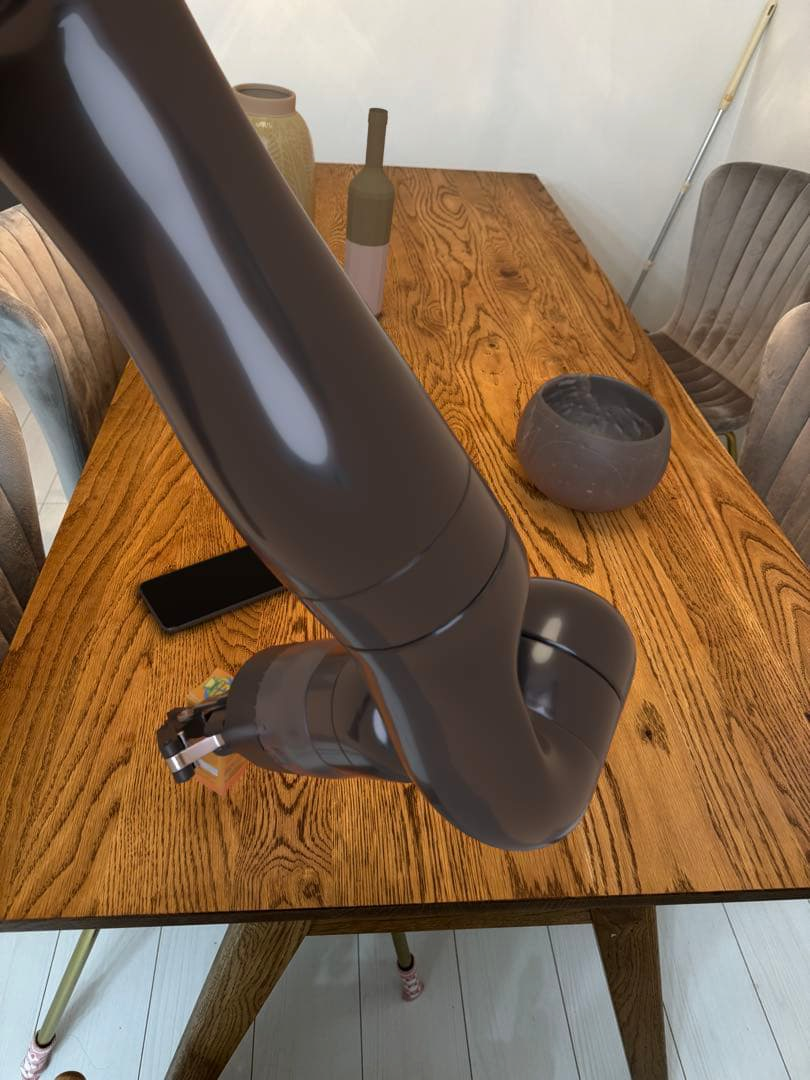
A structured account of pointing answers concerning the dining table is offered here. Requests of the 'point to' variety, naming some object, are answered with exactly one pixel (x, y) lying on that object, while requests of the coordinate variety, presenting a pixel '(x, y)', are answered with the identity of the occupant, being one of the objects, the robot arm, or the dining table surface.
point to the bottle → (370, 217)
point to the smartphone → (208, 589)
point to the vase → (283, 137)
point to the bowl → (593, 442)
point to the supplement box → (213, 768)
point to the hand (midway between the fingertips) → (202, 707)
